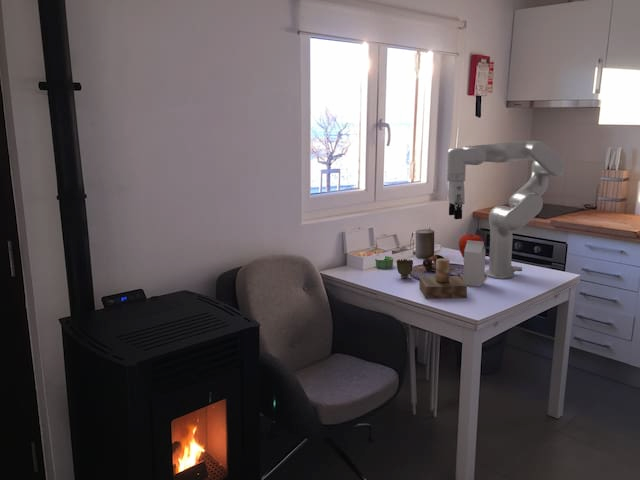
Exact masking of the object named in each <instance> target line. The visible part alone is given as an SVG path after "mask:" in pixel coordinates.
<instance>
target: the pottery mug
mask: <svg viewBox="0 0 640 480" xmlns="http://www.w3.org/2000/svg"><path fill="white" fill-rule="evenodd" d="M441 258H443V259H446V257H444V256H443V255H440V254H435V253H434V256H432V257H430V258H429V259H424V260H422V265H423V267H424V269H425V270H430V268H433V267H432V266H433V264H435V265H436V260H437V259H441Z"/></svg>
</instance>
